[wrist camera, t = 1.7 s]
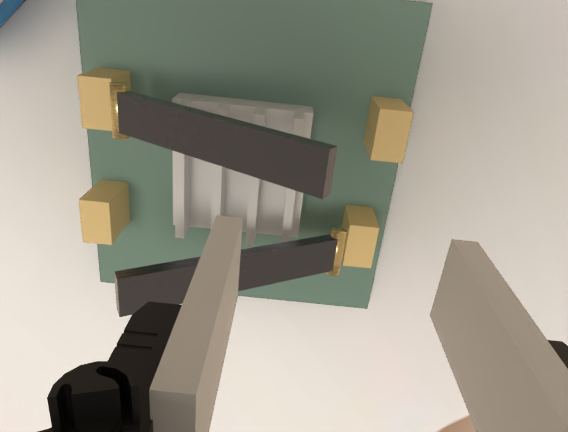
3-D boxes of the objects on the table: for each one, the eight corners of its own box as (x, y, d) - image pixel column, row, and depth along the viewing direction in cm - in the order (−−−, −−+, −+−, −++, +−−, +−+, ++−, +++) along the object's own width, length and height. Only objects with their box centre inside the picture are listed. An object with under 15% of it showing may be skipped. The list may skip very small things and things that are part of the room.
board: (81, -35, 29) (41, -40, 25) (427, 2, 30) (450, 4, 25) (106, 273, 39) (80, 310, 35) (365, 300, 39) (373, 339, 35)
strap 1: (119, 80, 27) (105, 82, 27) (339, 137, 21) (329, 141, 20) (122, 133, 29) (108, 136, 28) (329, 201, 22) (320, 208, 22)
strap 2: (113, 263, 24) (116, 273, 24) (341, 226, 31) (349, 232, 30) (116, 313, 26) (120, 324, 25) (334, 266, 32) (342, 274, 32)
